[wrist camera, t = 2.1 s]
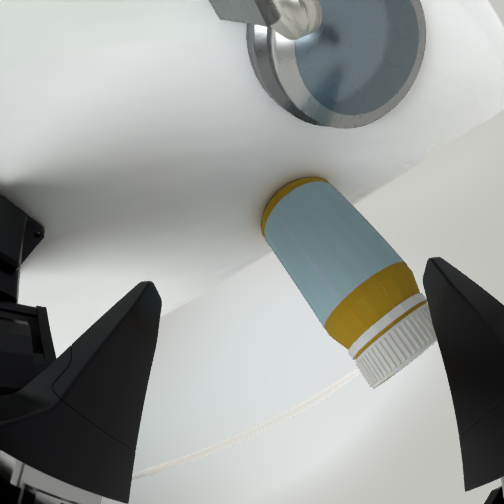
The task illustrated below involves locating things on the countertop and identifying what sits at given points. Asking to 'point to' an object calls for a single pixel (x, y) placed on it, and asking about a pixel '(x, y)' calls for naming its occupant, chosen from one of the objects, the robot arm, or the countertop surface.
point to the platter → (351, 60)
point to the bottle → (349, 277)
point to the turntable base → (284, 23)
